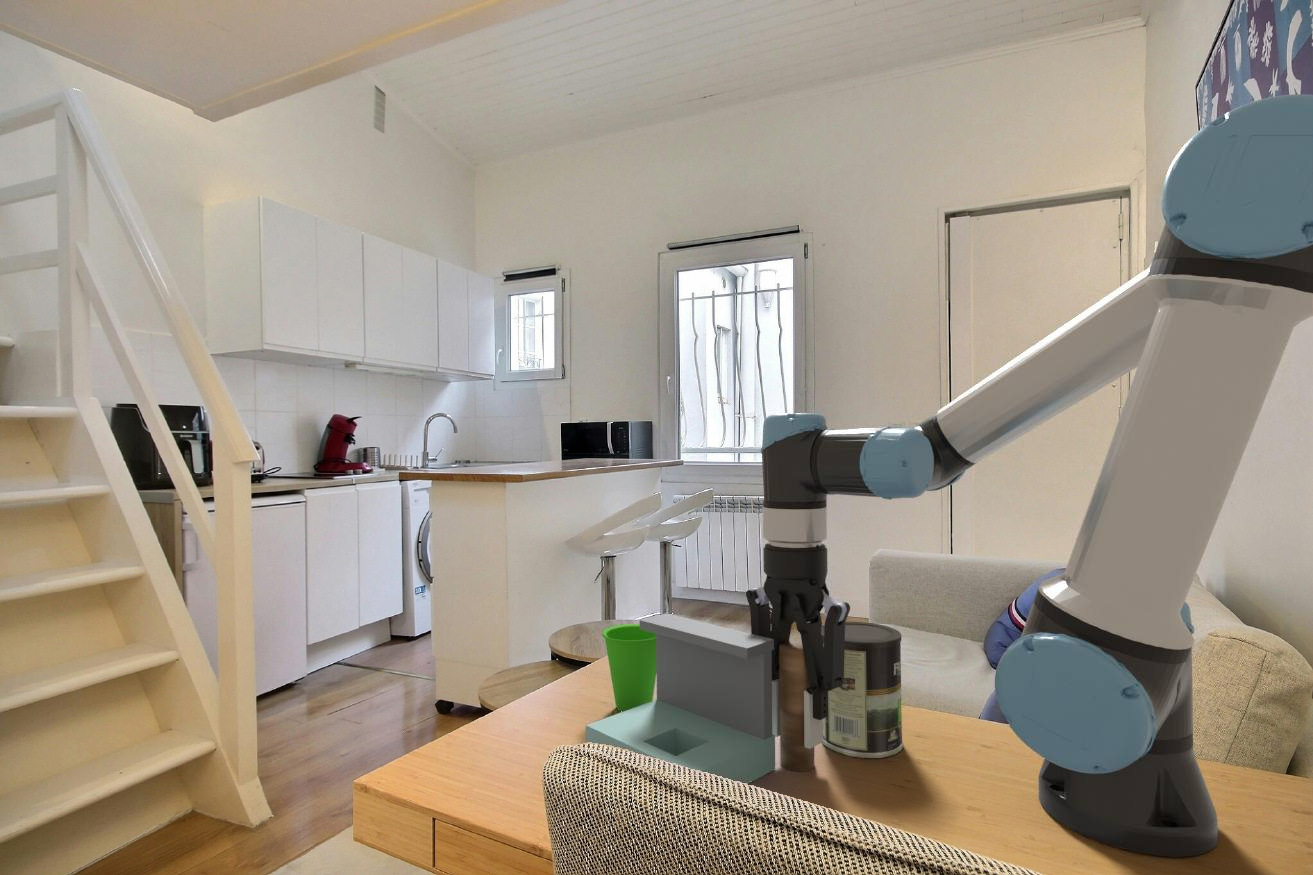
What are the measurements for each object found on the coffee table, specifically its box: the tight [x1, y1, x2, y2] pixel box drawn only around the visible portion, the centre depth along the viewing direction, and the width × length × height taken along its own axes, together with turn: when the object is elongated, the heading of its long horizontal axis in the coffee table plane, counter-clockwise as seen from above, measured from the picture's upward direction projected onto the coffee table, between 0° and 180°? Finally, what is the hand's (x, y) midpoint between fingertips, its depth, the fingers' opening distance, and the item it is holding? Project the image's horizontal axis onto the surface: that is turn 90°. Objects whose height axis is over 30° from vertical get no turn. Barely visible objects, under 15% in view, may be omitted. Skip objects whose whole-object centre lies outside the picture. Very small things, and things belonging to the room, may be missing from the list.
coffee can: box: [821, 621, 904, 759], centre depth 89 cm, size 10×10×14 cm
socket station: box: [585, 613, 776, 785], centre depth 83 cm, size 18×14×15 cm
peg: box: [779, 640, 815, 772], centre depth 83 cm, size 4×4×14 cm
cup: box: [601, 623, 657, 712], centre depth 101 cm, size 9×9×11 cm
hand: (797, 737), depth 83 cm, fingers closed on peg, 4 cm apart
